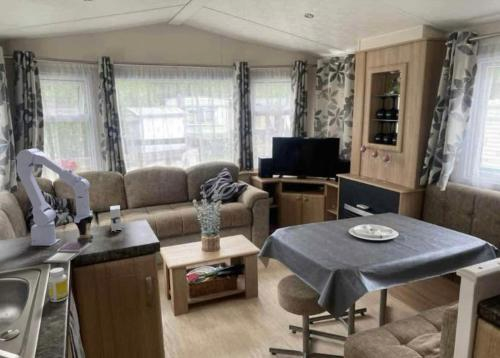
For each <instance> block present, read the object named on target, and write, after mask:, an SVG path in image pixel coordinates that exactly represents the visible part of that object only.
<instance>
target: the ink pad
mask: <svg viewBox="0 0 500 358" xmlns="http://www.w3.org/2000/svg"><path fill="white" fill-rule="evenodd" d="M90 246H91V242H90V241H89V242H78V241H77V242H75V241H74V242H73V241H69V242H67V243H65V244H63V245H62V246H61V247H60V248H58V249H57V250H56V252H80V253H79V254H81V253H83V251H85V250H86V249H87V248H88V247H90Z"/></svg>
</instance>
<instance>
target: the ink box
mask: <svg viewBox="0 0 500 358" xmlns="http://www.w3.org/2000/svg"><path fill="white" fill-rule="evenodd" d="M109 209H110V210H109V213H110V225H111V226H110V227H111V228H110V229H111V232H112V231H114V232H117V231H116V230H121V231H122V217H121V206H120V204H119V205H111V206H109Z"/></svg>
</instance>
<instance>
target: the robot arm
mask: <svg viewBox="0 0 500 358" xmlns="http://www.w3.org/2000/svg"><path fill="white" fill-rule="evenodd" d="M15 159H16V173H17V175H18V177H19V180H20V181H21V183H22V185H23V188H24V190H25V192H26V195H27V196H28V199H29V201H30V203H31V205H32V211H31V212H32V215H33V216H32V217H33V222H34V224H33V225H32V226H31V228H30V238H31V239H30V240H31V244H30V246H45V247H46V246H53V245H55V244H56V243H58V242H59V241H60V240H61V238H57V237H56V235H57V234H56V225H55V219H56V217H57V212H56V211H55V210H54V208H52V206H51V205H50V204H49V203H47V202H46V200H45V197H44V195H43V193H42V191H41V188H40V186H39V184H38V182H37V180H36V178H35V175H34V173H33V172H32V171H33V169H34V167H35V166H36V165H42V166H45V168H48V169H49V170H50V171H52V172H54V173H56V174H57V175H58V178H59V180H61V181H62V182H64V183H65V184H67V185H68V186H69V187H72V190H73V192H74V193H75V194H74V195H75V207H76V208H75V209H76V215H75V217H74V218H73V222H74V224H75V226H76V227H77V229H78V233H79V232H80V235H85V234H86V225H87V223H90V227H91V226H92V222H93V220H94V214H93V210H91V207H90V206H91V205H90V194H89V193H90V192H89V188H90V187H91V184H90V181H89V180H88V179H87V178H85V177H82V176H81V175H78V174H76V172H74V170H73V169H72V168H64V167H62V166H61V165H60V164H58V163H57V162H56V161H54V160H53V159H52V158H51V157H50V156H48V155H47V154H46V153H45V152H44V151H41V150H40V149H39V148H37V147H32V148H28V149H27V148H26V149H21V150H20V151H19V152H18V153H17V155H16V156H15ZM80 235H79V236H80Z"/></svg>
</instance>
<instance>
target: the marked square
mask: <svg viewBox="0 0 500 358" xmlns="http://www.w3.org/2000/svg"><path fill="white" fill-rule="evenodd" d="M79 254H81V253H80V252H57V251H56V252H55V253H53V254H52V255H50V256H49V257H47V258H46V259H44V260H43V263H69V262H70V261H71V260H73V259H74V258H76V257H77V256H79Z"/></svg>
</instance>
